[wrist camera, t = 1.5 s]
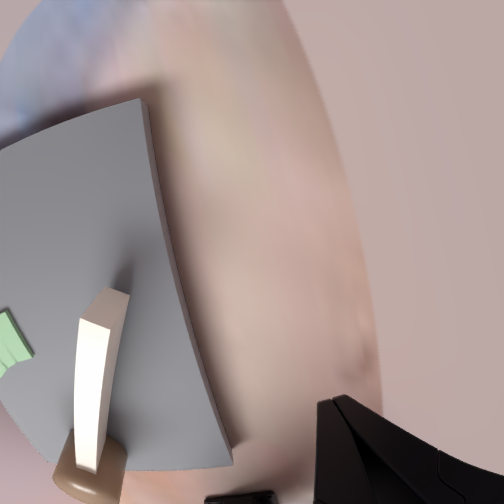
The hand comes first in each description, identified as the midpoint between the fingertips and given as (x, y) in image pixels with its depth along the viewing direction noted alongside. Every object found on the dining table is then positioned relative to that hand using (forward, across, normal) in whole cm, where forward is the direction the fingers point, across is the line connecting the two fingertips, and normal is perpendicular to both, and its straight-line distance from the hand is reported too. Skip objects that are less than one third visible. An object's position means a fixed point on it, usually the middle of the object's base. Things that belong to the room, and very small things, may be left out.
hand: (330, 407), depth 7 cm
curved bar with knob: (+7, +11, +4) cm, 13 cm away
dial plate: (+8, +12, +1) cm, 15 cm away
